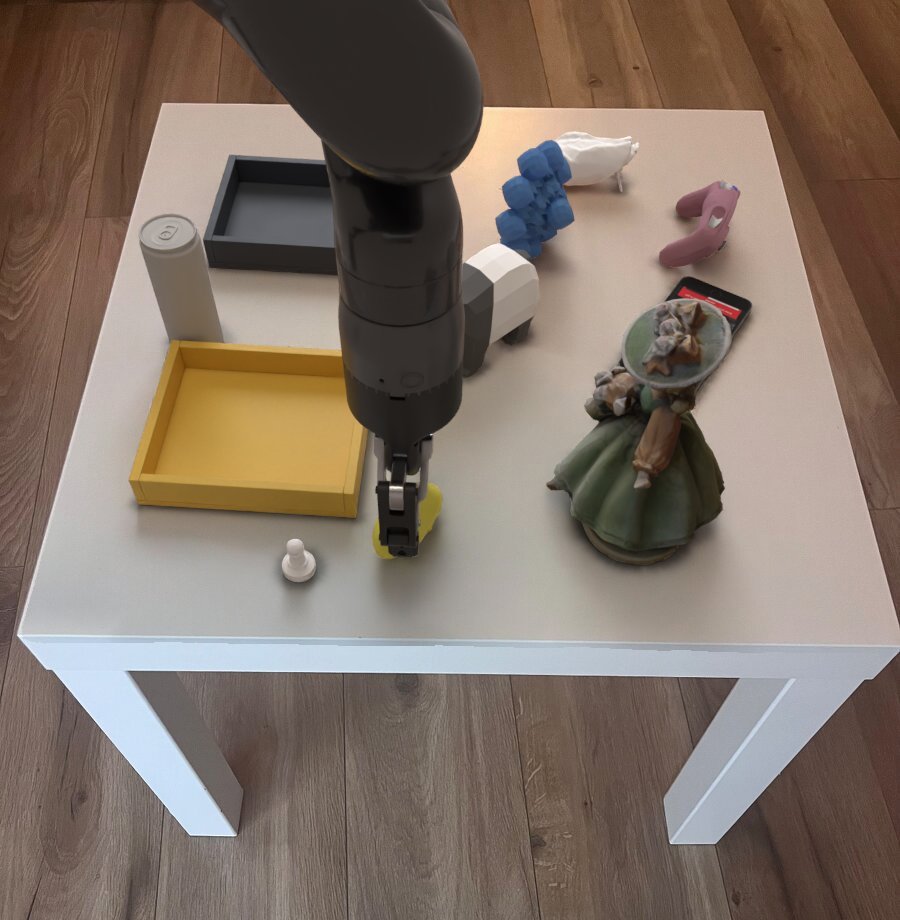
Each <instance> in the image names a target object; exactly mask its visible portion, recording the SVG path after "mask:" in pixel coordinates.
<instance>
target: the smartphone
mask: <svg viewBox="0 0 900 920" xmlns="http://www.w3.org/2000/svg"><path fill="white" fill-rule="evenodd" d="M684 298H685V299H697V300H703V301H705V302H707V303H710V304H712V305H714V306H715V307H717V308H718V309H719V310H721V312H722V315H723V316H724V317H725V318H726V320H727V321H728V323H729V324H730V329H731V334H732V338H733V337H734V336H735V334H736V333H737V332H738V331H739V329H740V327H741V326H742V324H743V323H744V321H745V320H746V318H747V317H748V315H749V314H750V313H751V311H752V308H753V303H752V302H751V301H750V300H749V299H748V298H745V297H743V296H740V295H738V294H735V293H733V292H730V291H728V290H726V289H723V288H721V287H718V286H716V285H713V284H711V283H709V282H706V281H703V280H701V279H699V278H696V277H694V276H691V275H685V276H683V277H681V279H680V280H679V281H678V282H677V284H676V285H675V287H674V288H673V289H672V291H670V293H669V294H668V295H667V297H666V298H665V300H664V301H663V302H662V303H664V302H667V301H670V300H675V299H684ZM617 366H621V367H624V368H625V366H624V364H623V360H622V357H621V358H620V359H619V361H618V362H617ZM625 369H626V368H625ZM626 371H627V370H626ZM627 373H628V372H627ZM704 380H706V377H705V378H704V379H702V380H700V381H697V386H696V390H695V393H696V392H697V391H698V389H699V388H700V386H701V385H702V383H703V382H704Z"/></svg>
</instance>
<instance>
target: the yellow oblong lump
mask: <svg viewBox="0 0 900 920" xmlns="http://www.w3.org/2000/svg"><path fill="white" fill-rule="evenodd" d="M416 483H417V484H419V483H420V481H417V482H416ZM442 508H443V494H442V492H441V490H440V488H439V487H438V486H437V485H436V484H435V483H432V482H429V481H428V492H427V496H426V498H425V499H424V500H423V501H421V502H420V517H419V520H421V527H419V545H420V544H421V543H422V541H423V540H424V538H425V536H426V535H427V533H430V532H432V531H433V526H434V523H435V521H436V519H437V518H438V516H439V514H440V513H441V511H442ZM379 533H380V531H379V516H378V517H377V519H376V521H375V523H374V526H373V531H372V537H371V543H372V547H373V550H374V552H375V554H376V556H377V557H379V558H381V559H384V560H392V559H395V558H396V557H393V555H391V554H389V552H388V546H381V545H380V541H379Z"/></svg>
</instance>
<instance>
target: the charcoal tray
mask: <svg viewBox="0 0 900 920" xmlns="http://www.w3.org/2000/svg"><path fill="white" fill-rule="evenodd" d="M209 215H210V216H209V218H208V221H207V225H206V229H205V232H204V235H203V237H202V244H203V247H204V252H205V255H206V261H207V263H208V267H209V268H217V269H232V270H233V269H235V270H249V271H268V272H269V271H270V272H284V273H300V274H301V273H303V274H316V275H317V274H318V275H333V276H335V275H336V276H338V273H337V264H336V254H335V247H334V219H333V205H332V194H331V187H330V181H329V177H328V172H327V167H326V163H325V159H311V158H296V157H295V158H293V157H280V156H279V157H277V156H259V155H245V154H244V155H243V154H229V155H228V157H227V161H226V164H225V167H224V170H223V173H222V176H221V180H220V183H219V187H218V190H217V193H216V196H215V199H214V203H213V206H212V209H211V212H210V214H209Z"/></svg>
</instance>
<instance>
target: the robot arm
mask: <svg viewBox="0 0 900 920" xmlns="http://www.w3.org/2000/svg"><path fill="white" fill-rule="evenodd" d="M190 2H191V3H193V4H194V5H195V6H197V7H198V8H199V9H201V10H202V11H203V12H204V13H206V14H207V15H208V16H210V17H211V18H212V19H213V20H215V21H216V22H217V23H218V25H220V26H221V27H222V28H223V29H224V30H225V31H226V32H227V34H228V35H229V36H230V37H231V38H232V39H233V40H234V41H235V42H236V44H237V45H238V46H239V47H240V48H241V49H242V51H243V52H244V53H245V55H246V56H247V57H248V58H249V59H250V60H251V62H252V63H253V64H254V65H255V67H256V68H257V69H258V70H259V72H260V73H261V74H262V75H263V77H265V79H266V80H267V81H268V82H269V83H270V84H271V86H272V87H273V88H274V89H275V90H276V91H277V93H279V95H281V97H282V98H283V99H284V100H285V101H286V102H287V104H288V105H289V106H290V107H291V108H292V109H293V111H294V112H295V113H296V114H297V115H298V117H300V119H301V120H303V122H304V123H305V124H306V126H308V127H309V128H310V129H311V131H313V133H314V134H315V135H316V136H317V137H318V138H319V139H320V142H321V148H322V152H323V157H324V160H325V163H326V167H327V172H328V177H329V181H330V187H331V194H332V205H333V219H334V247H335V254H336V264H337V273H338V275H337V279H338V280H337V282H338V310H337V321H338V322H337V323H338V331H339V333H338V334H339V343H340V350H341V351H342V360H343V369H344V378H345V387H346V395H347V402H348V406H349V409H350V411H351V413H352V414H353V416H354V417H355V419H356V420H357V421H358V422H359V423H360V424H361V425H362V426H364V427H365V428H366V429H368V431H369V432H370V433H373V454H374V456H375V457H376V459H377V461H376V462H377V463H376V466H377V467H376V468H377V469H376V485H375V488H374V489H375V491H374V492H375V495H376V500H377V514H378V515H377V516H378V517H379V531H380V533H379V541H380V545H381V546H388V552H389V554H391V555H393V557H395V558H407V559H413V557H417V556H418V555H419V550H420V549H419V548H420V544H419V527H421V520H419V517H420V502H421V501H423V500H424V499H425V498H426V496H427V492H428V482H429V473H430V472H429V469H430V460H431V459H432V457H433V454H434V442H435V441H434V437H435V435H434V434H435V433H437V432H439V431H441V430H442V429H443V428H445V427H446V426H447V425H448V424H449V423H450V422H451V421H452V420H453V419H454V418H455V417H456V415H457V414H458V412H459V409H460V408H461V404H462V401H463V385H464V383H463V381H464V377H463V360H464V334H465V312H464V303H463V296H462V267H463V263H464V223H463V213H462V208H461V203H460V200H459V196H458V193H457V190H456V188H455V184H454V181H453V178H452V177H453V176H452V173H454V171H456V170H457V169H458V168H459V167H460V166H461V165H462V164H463V163H464V162H465V160H467V158H468V157H469V155H470V154H471V152H472V150H473V148H474V146H475V144H476V142H477V140H478V137H479V135H480V131H481V128H482V123H483V116H484V106H485V105H484V104H485V102H484V88H483V83H482V77H481V73H480V70H479V66H478V64H477V61H476V59H475V55H474V54H473V52H472V50H471V48H470V46H469V44H468V42H467V40H466V38H465V36H464V34H463V32H462V29H461V28H460V26H459V24H458V22H457V20H456V18H455V15H454V14H453V12H452V9H451V8H450V6H449V4H448V2H447V0H190ZM387 471H388V472H389V473H390V479H389V480H388V479H387ZM418 473H419V482H420V483H419V484H417V482H415V481H414V482H412V481H411V482H410V481H407V476H409V477H413V476H416V475H417V474H418Z"/></svg>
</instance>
